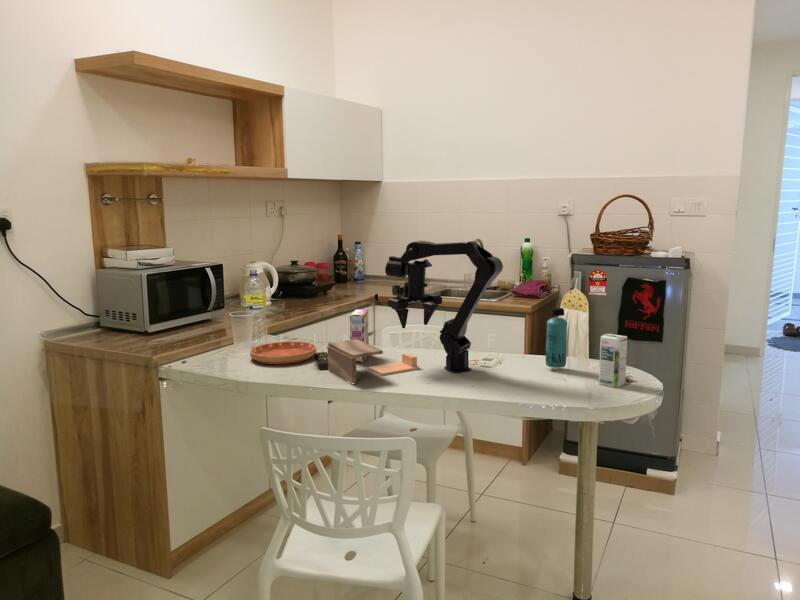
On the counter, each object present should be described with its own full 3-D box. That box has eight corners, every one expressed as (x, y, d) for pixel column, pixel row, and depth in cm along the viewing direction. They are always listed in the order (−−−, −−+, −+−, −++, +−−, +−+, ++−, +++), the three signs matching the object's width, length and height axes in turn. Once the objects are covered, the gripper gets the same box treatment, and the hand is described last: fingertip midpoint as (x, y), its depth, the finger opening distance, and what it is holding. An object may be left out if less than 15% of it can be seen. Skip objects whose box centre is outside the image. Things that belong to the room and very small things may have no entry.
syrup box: (597, 384, 183) (599, 335, 181) (607, 379, 187) (609, 332, 185) (616, 388, 179) (618, 338, 177) (625, 383, 183) (628, 335, 181)
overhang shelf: (357, 365, 207) (356, 339, 206) (383, 378, 192) (382, 350, 191) (328, 370, 202) (327, 343, 201) (352, 384, 187) (351, 355, 185)
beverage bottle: (548, 365, 203) (550, 305, 200) (569, 368, 200) (570, 307, 197) (542, 370, 198) (543, 308, 195) (563, 373, 195) (564, 310, 191)
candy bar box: (365, 362, 211) (363, 315, 208) (350, 362, 212) (348, 315, 209) (369, 354, 222) (368, 309, 219) (355, 354, 222) (354, 308, 220)
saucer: (237, 359, 219) (236, 349, 218) (289, 347, 236) (289, 337, 235) (277, 371, 204) (276, 359, 203) (330, 356, 220) (329, 346, 220)
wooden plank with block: (405, 364, 210) (405, 352, 210) (419, 370, 203) (419, 357, 202) (368, 370, 203) (367, 358, 203) (381, 377, 196) (381, 364, 195)
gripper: (422, 274, 215) (421, 318, 218) (378, 278, 204) (377, 324, 207) (444, 279, 206) (442, 325, 209) (399, 283, 195) (397, 332, 198)
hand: (414, 326), depth 206 cm, fingers open, 9 cm apart
